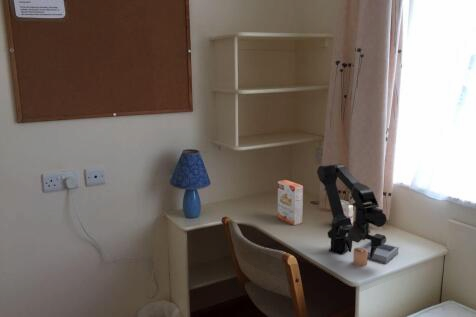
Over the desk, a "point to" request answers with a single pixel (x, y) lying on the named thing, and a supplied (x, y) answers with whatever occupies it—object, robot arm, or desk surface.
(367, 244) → the tray
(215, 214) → the desk surface
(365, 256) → the terracotta cup
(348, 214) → the ink cartridge box
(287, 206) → the cracker box
